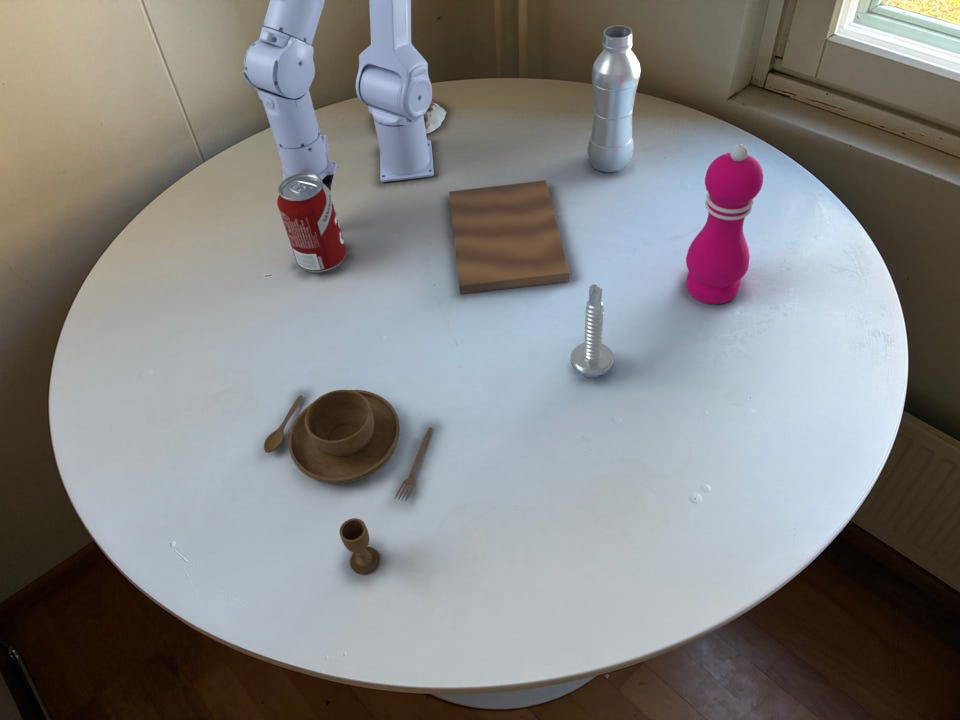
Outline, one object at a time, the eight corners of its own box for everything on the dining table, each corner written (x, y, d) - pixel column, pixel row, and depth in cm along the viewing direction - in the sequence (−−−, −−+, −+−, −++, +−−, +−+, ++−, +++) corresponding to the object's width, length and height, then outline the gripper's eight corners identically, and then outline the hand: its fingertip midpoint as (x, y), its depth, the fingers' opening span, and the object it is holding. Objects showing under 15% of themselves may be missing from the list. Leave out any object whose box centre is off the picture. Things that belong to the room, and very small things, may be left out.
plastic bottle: (578, 161, 114) (582, 29, 99) (617, 147, 116) (626, 15, 101) (601, 183, 110) (608, 48, 95) (641, 168, 112) (654, 34, 97)
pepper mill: (743, 310, 91) (778, 167, 76) (680, 305, 93) (704, 163, 78) (741, 270, 96) (775, 128, 81) (682, 265, 97) (705, 125, 82)
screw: (570, 353, 89) (613, 354, 88) (569, 385, 86) (613, 387, 85) (572, 269, 79) (619, 269, 79) (571, 301, 76) (620, 302, 75)
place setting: (442, 413, 84) (436, 379, 80) (378, 578, 72) (367, 548, 67) (298, 388, 88) (285, 353, 84) (214, 540, 76) (193, 509, 72)
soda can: (322, 283, 100) (299, 208, 91) (287, 264, 103) (261, 191, 94) (357, 254, 104) (338, 180, 95) (322, 237, 107) (301, 164, 98)
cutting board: (450, 200, 110) (448, 191, 109) (546, 188, 110) (546, 180, 109) (459, 294, 97) (458, 285, 96) (569, 281, 97) (569, 272, 96)
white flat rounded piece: (450, 133, 122) (448, 111, 119) (376, 143, 122) (371, 122, 119) (443, 97, 130) (440, 75, 127) (373, 107, 129) (369, 85, 126)
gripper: (313, 169, 91) (338, 257, 101) (341, 105, 101) (360, 191, 111) (257, 169, 92) (286, 256, 102) (289, 106, 102) (313, 191, 112)
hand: (322, 222), depth 107 cm, fingers closed
